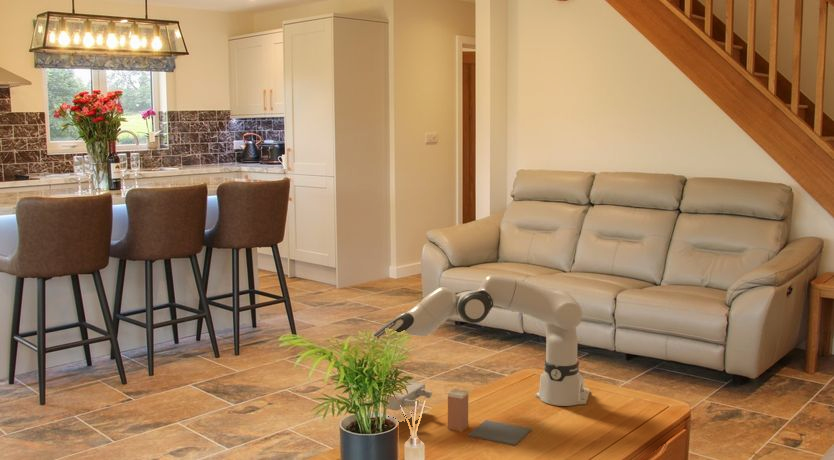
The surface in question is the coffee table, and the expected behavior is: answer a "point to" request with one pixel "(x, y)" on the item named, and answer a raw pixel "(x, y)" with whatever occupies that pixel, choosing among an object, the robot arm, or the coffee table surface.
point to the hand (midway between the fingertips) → (424, 399)
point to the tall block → (457, 409)
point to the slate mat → (500, 432)
